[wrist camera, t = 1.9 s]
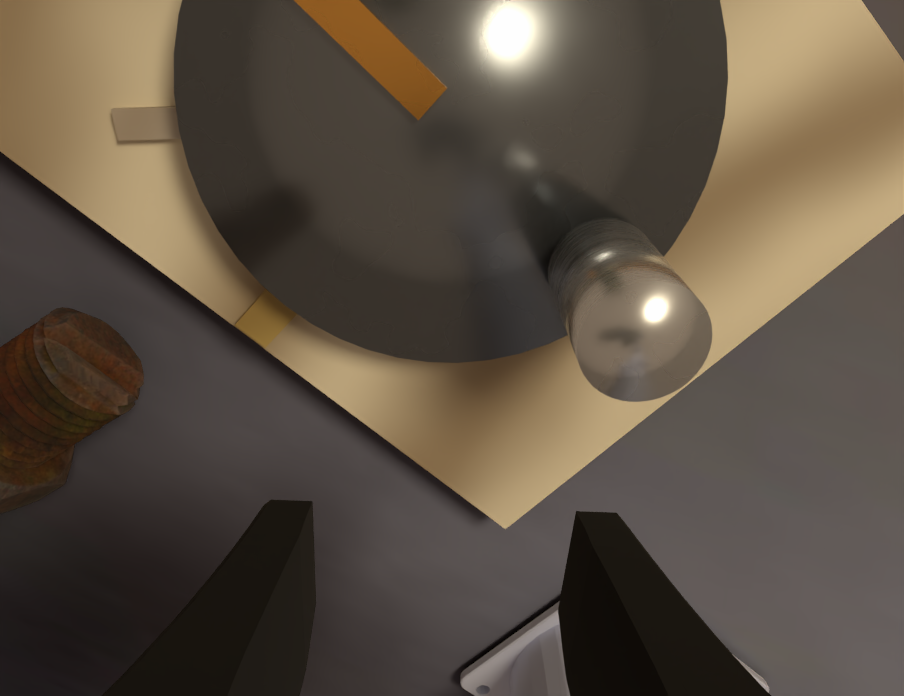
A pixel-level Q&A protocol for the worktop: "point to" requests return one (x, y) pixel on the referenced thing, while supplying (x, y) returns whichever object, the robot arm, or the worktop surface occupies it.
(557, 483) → the board
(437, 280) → the dial
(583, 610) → the robot arm
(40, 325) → the bolt
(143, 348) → the worktop surface
